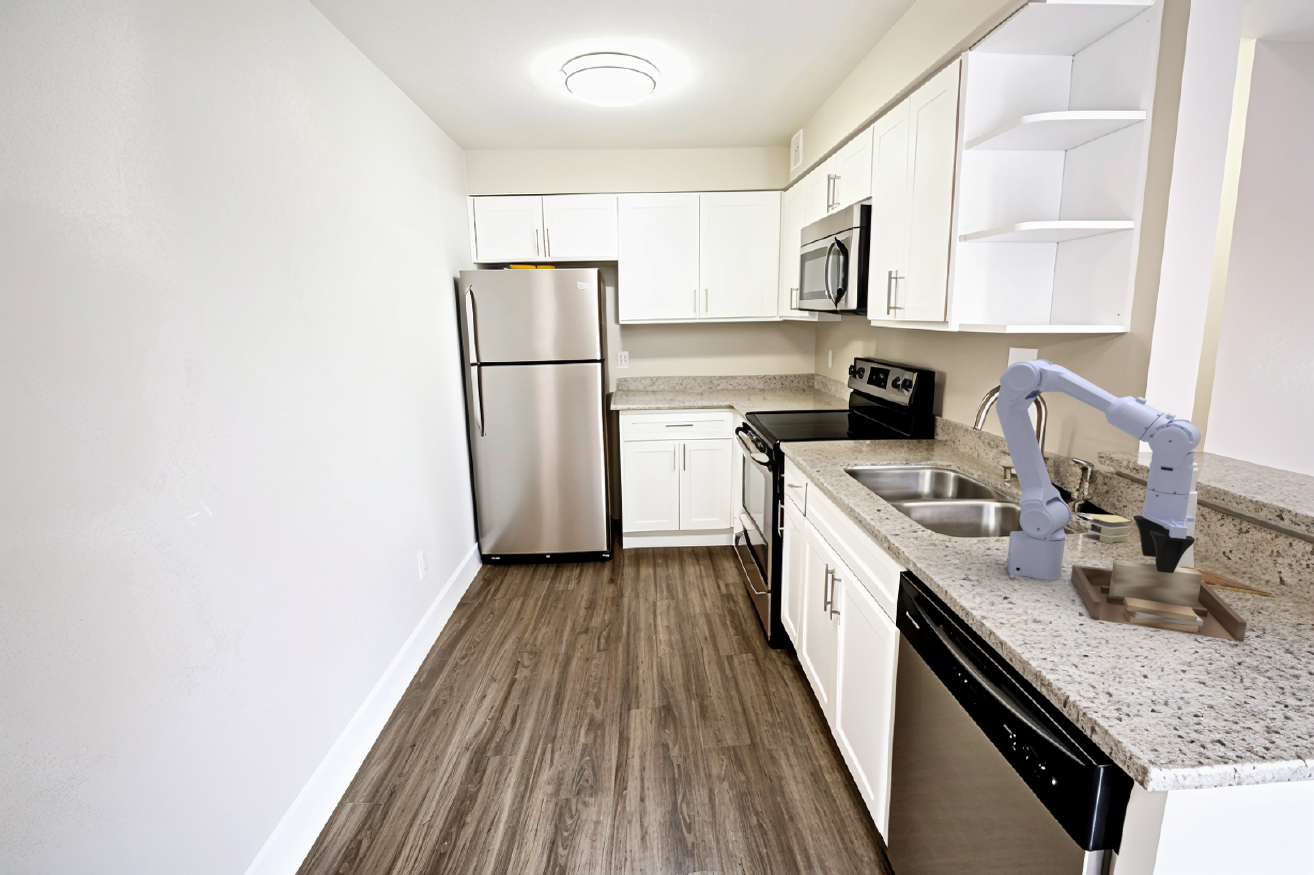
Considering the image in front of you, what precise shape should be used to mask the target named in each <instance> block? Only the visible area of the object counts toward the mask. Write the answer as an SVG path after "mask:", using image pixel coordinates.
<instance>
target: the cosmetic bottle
mask: <svg viewBox="0 0 1314 875" xmlns="http://www.w3.org/2000/svg"><path fill="white" fill-rule="evenodd" d="M1198 465H1199V464H1198V463H1197V462H1193V473H1192V480H1191V487H1190V493H1189V500H1188V506H1187V513H1186V515H1191V516H1193V517H1194V518H1195V520H1194V522H1187V523H1186V527H1187V534H1186V536H1192V537H1193V538H1194V539H1195V528H1196V517H1197V508H1198V507H1197V506H1198V491H1196V488H1197V481H1198V476H1199V468H1198ZM1194 543H1195V542H1194ZM1194 543H1193V544H1192V545H1191V546H1190V547H1189V548H1188V549H1187V550H1186V551H1185V552H1184V554H1183V555H1182V557H1181V559H1180V561H1179V563H1178V565H1177V567H1185V566H1188V567H1193V568H1195V563H1194V561H1195V558H1194Z"/></svg>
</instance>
